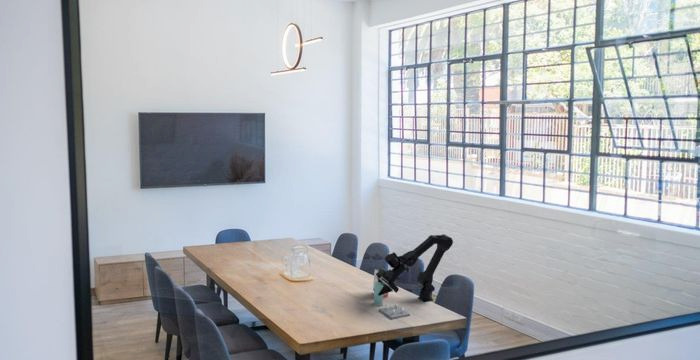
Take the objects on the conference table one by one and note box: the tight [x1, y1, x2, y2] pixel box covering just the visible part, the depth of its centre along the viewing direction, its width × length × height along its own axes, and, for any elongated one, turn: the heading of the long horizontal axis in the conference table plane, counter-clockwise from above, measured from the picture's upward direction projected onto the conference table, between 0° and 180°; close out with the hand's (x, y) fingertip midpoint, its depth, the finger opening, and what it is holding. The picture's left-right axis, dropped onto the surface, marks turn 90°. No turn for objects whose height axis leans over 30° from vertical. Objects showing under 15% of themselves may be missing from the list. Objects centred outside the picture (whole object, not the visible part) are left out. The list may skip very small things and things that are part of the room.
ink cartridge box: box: [372, 269, 389, 299], centre depth 355 cm, size 9×5×15 cm, turn 37°
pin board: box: [378, 303, 411, 320], centre depth 333 cm, size 12×12×4 cm
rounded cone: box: [373, 282, 384, 307], centre depth 342 cm, size 5×5×12 cm
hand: (376, 293), depth 341 cm, fingers closed on rounded cone, 5 cm apart
